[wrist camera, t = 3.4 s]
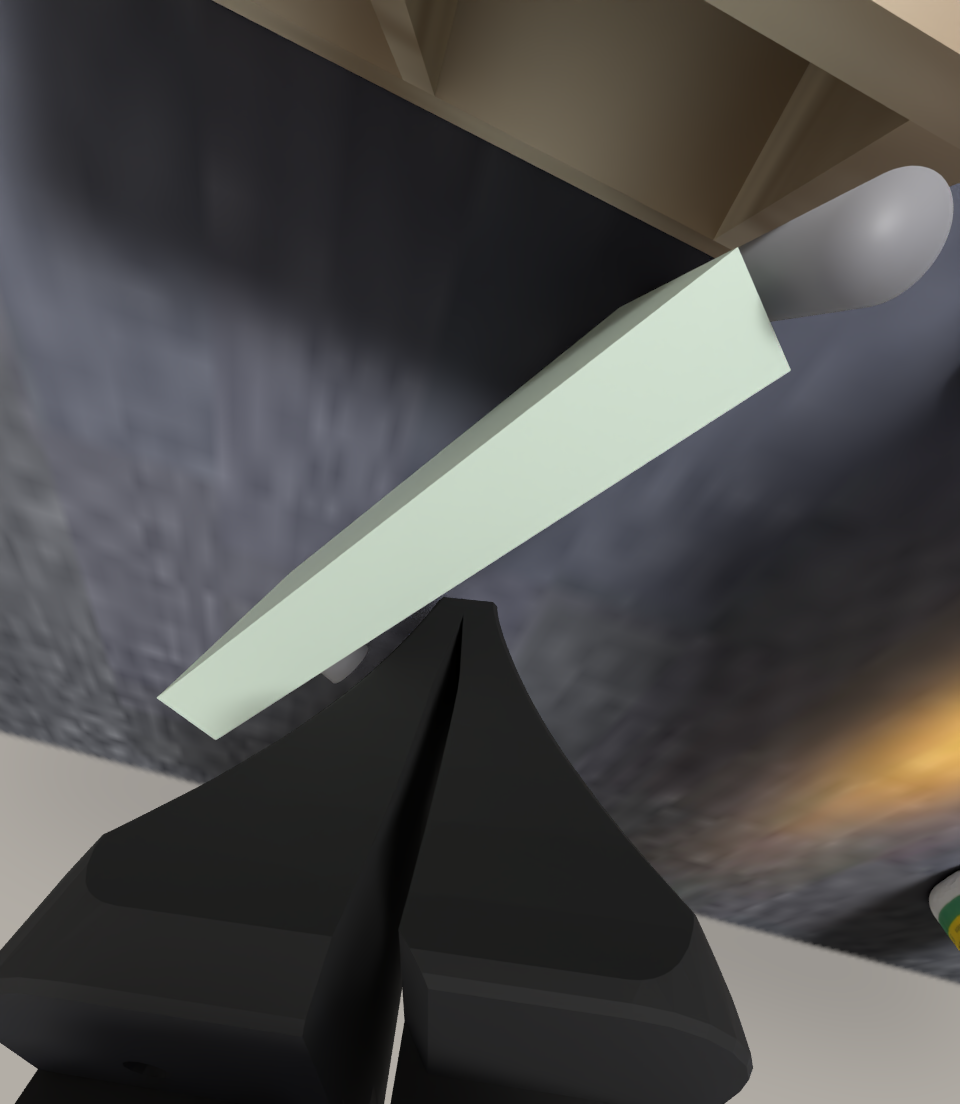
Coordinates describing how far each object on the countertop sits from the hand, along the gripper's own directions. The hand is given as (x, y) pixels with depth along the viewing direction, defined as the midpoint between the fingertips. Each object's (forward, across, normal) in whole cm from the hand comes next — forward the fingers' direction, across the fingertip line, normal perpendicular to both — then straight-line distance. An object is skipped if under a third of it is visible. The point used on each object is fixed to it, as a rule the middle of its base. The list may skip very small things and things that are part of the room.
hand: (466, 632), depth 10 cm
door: (+2, 0, -3) cm, 4 cm away
